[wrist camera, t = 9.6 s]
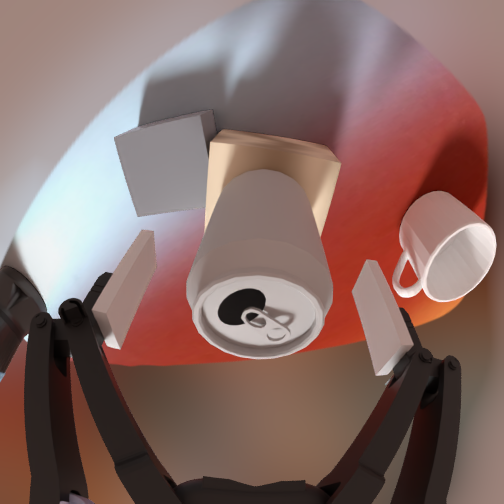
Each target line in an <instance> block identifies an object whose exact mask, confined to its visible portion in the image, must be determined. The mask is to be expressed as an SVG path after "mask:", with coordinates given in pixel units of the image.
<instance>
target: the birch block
mask: <svg viewBox="0 0 504 504" xmlns="http://www.w3.org/2000/svg"><path fill="white" fill-rule="evenodd" d="M340 166H341V162H340V161H339V160H338V159H337V157H336V156H335V155H334V154H333V153H332V152H331V150H330V149H329V148H328V147H327V146H326V145H321V144H317V143H312V142H307V141H302V140H296V139H291V138H285V137H279V136H273V135H267V134H260V133H252V132H245V131H236V130H227V129H222V130H221V131H220V132H219V133H218V135H217V136H216V137H215V138H214V139H213V140H212V141H211V142H210V151H209V164H208V178H207V193H206V211H205V231H206V228H207V225H208V223H209V220H210V218H211V215H212V213H213V210H214V208H215V205H216V203H217V200H218V198H219V196H220V194H221V192H222V190H223V188H224V187H225V186H226V185H227V184H228V183H229V182H230V181H231V180H232V179H233V178H235V177H237V176H239V175H241V174H243V173H245V172H247V171H253V170H260V169H267V170H273V171H278V172H281V173H283V174H285V175H287V176H289V177H291V178H293V179H294V180H295V181H296V182H297V183H298V184H299V185H300V186H301V187H302V188H303V189H304V191H305V193H306V195H307V197H308V199H309V202H310V204H311V208H312V211H313V214H314V218H315V221H316V224H317V228H318V231H319V235H320V237H321V233H322V230H323V227H324V223H325V220H326V217H327V213H328V210H329V206H330V203H331V199H332V196H333V192H334V188H335V185H336V181H337V177H338V174H339V170H340ZM204 233H205V232H204Z"/></svg>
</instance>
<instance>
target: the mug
mask: <svg viewBox="0 0 504 504" xmlns="http://www.w3.org/2000/svg"><path fill="white" fill-rule="evenodd" d="M399 238H400V244H401V246H402V248H403V250H404V252H403V253H402V254H401V257H400V259H399V261H398V264H397V266H396V268H395V270H394V273H393V276H392V280H393V287H394V289H395V290H396V292H397V293H398V294H399V295H400V296H401V297H412V296H415V295H416V294H417V293H419V291H420V290H421V289H422V287H423V289H424V292H425V294H426V295H427V296H428V297H429V298H430V299H432V300H435V301H438V302H448V301H452V300H456V299H458V298H460V297H462V296H464V295H465V294H467V293H468V292H470V291H471V290H472V289H473V288H475V287H476V286H477V285H478V283H480V282H481V280H482V279H483V278H484V276H485V275H486V274H487V272H488V270H489V268H490V266H491V265H492V262H493V259H494V256H495V251H496V238H495V234H494V232H493V230H492V228H491V227H490V226H489V225H488V224H487V223H485V222H484V221H483V220H482V219H481V218H480V217H478V216H477V215H476V214H475V213H474V212H472V211H471V210H470V209H469V208H468V207H466V206H465V205H464V204H462V203H461V202H460V201H459V200H457V199H456V198H455V197H453V196H452V195H451V194H449V193H447V192H443V191H433V192H430V193H427V194H425V195H423V196H422V197H420V198H419V199H417V200H416V201H415V202H414V203H413V204H412V205H411V206H410V208H409V209H408V211H407V212H406V214H405V216H404V217H403V220H402V223H401V226H400V233H399ZM408 259H409V261H410V263H411V265H412V267H413V269H414V271H415V273H416V275H417V277H418V279H419V280H418V281H417V282H416V283H415V284H414V285H413V286H411V287H408V288H403V287H401V286H400V284H399V279H400V275H401V273H402V271H403V268H404V266H405V263H406V261H407V260H408Z"/></svg>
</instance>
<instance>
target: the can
mask: <svg viewBox="0 0 504 504" xmlns="http://www.w3.org/2000/svg"><path fill="white" fill-rule="evenodd" d="M186 283H187V300H188V302H189V304H190V306H191V309H192V317H193V322H194V324H195V326H196V328H197V330H198V332H199V333H200V334H201V335H202V336H203V337H204V338H205V339H206V340H207V341H208V342H209V343H210V344H212V345H213V346H215V347H217V348H219V349H220V350H222V351H224V352H226V353H229V354H233V355H236V356H239V357H244V358H252V359H269V358H277V357H282V356H286V355H290V354H292V353H294V352H296V351H299V350H301V349H303V348H304V347H306V346H307V345H309V344H310V343H311V342H312V341H313V340H314V339H315V338H316V337H317V336H318V335H319V333H320V331H321V329H322V327H323V325H324V318H325V316H326V314H327V312H328V310H329V308H330V306H331V304H332V299H333V284H332V280H331V276H330V272H329V268H328V264H327V260H326V256H325V253H324V249H323V245H322V242H321V238H320V235H319V231H318V228H317V224H316V221H315V218H314V214H313V211H312V208H311V204H310V202H309V199H308V197H307V195H306V193H305V191H304V189H303V188H302V187H301V186H300V185H299V184H298V183H297V182H296V181H295V180H294V179H293V178H291V177H289V176H287V175H285V174H283V173H281V172H278V171H273V170H267V169H260V170H253V171H247V172H245V173H243V174H241V175H239V176H237V177H235V178H233V179H232V180H231V181H230V182H229V183H228V184H227V185H226V186H225V187H224V188H223V190H222V192H221V194H220V196H219V198H218V200H217V203H216V205H215V208H214V210H213V213H212V215H211V218H210V220H209V223H208V225H207V228H206V231H205V233H204V236H203V238H202V241H201V244H200V246H199V249H198V252H197V254H196V257H195V260H194V262H193V265H192V268H191V271H190V273H189V276H188V279H187V282H186Z"/></svg>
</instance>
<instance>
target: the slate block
mask: <svg viewBox="0 0 504 504" xmlns="http://www.w3.org/2000/svg"><path fill="white" fill-rule="evenodd" d="M216 136H217V131H216V126H215V120H214V114H213V109H211V110H206V111H200V112H195V113H191V114H186V115H181V116H177V117H173V118H168V119H164V120H160V121H157V122H153V123H149V124H145V125H142V126H138V127H136V128H134V129H131V130H129V131H127V132H125V133H122V134H120V135H118V136H116V137H114V140H115V144H116V148H117V152H118V155H119V159H120V162H121V166H122V169H123V173H124V176H125V179H126V182H127V186H128V189H129V192H130V195H131V198H132V201H133V204H134V207H135V210H136V213H137V216H138V217H141V216H147V215H154V214H161V213H168V212H175V211H183V210H191V209H199V208H206V193H207V178H208V164H209V151H210V142H211V141H212V140H213V139H214V138H215V137H216Z"/></svg>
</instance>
